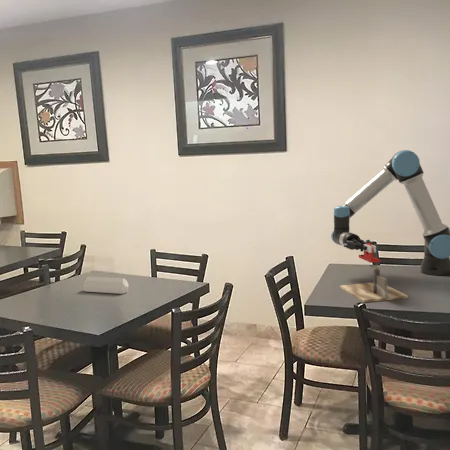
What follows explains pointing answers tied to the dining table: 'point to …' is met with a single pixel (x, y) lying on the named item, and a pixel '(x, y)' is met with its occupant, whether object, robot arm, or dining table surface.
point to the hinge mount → (373, 290)
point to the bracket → (369, 256)
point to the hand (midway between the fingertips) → (373, 249)
